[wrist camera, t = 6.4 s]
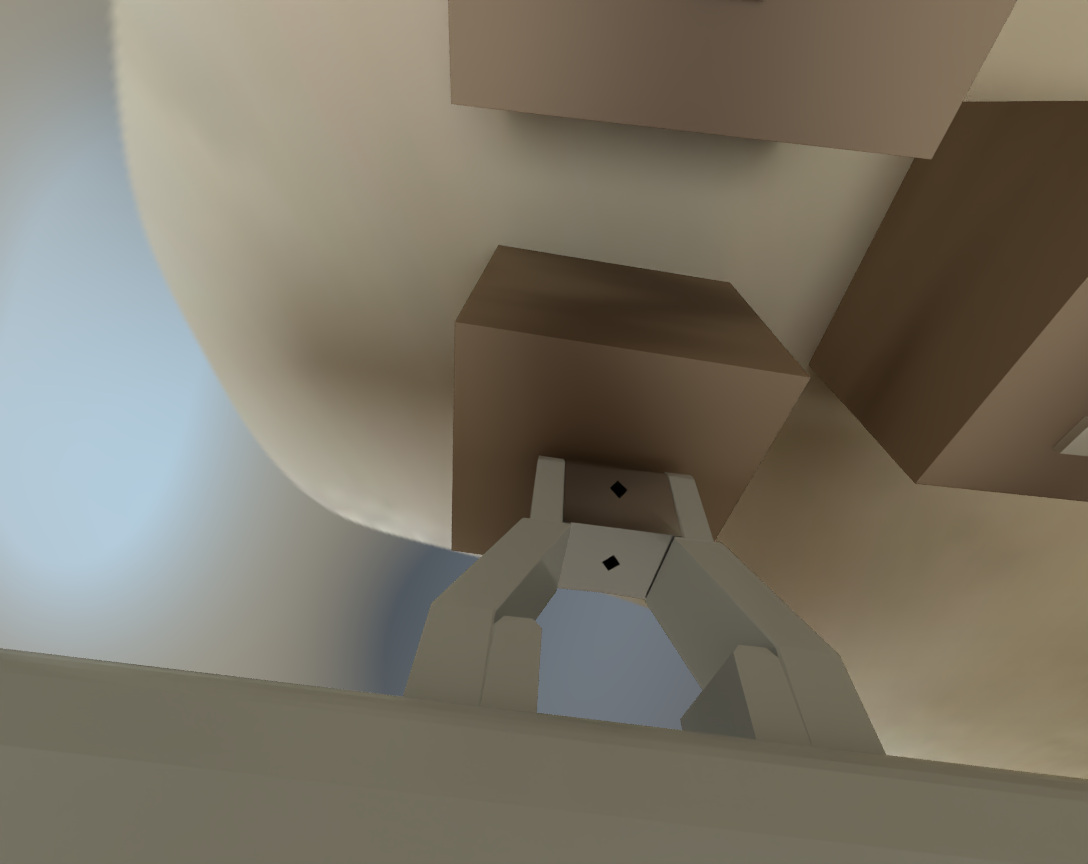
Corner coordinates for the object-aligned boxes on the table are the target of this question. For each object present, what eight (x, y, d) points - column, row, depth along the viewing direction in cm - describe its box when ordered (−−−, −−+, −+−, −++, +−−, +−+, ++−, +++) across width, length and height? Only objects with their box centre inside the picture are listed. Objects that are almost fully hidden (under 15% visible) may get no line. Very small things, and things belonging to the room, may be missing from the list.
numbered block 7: (1229, 133, 9) (1786, 159, 5) (1013, 384, 13) (1226, 520, 8) (939, 102, 9) (1252, 100, 5) (807, 362, 12) (920, 489, 8)
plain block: (728, 281, 11) (811, 377, 7) (659, 455, 15) (689, 583, 11) (499, 243, 11) (454, 321, 7) (486, 429, 15) (451, 550, 11)
